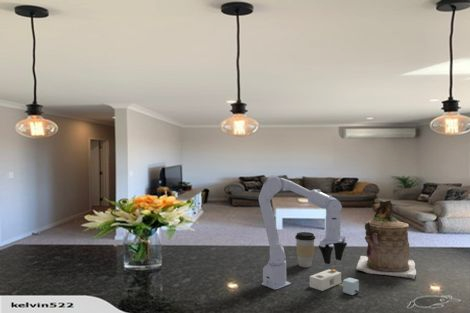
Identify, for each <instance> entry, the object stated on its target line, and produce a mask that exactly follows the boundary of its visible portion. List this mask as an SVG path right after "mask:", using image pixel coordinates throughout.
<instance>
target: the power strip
mask: <svg viewBox="0 0 470 313" xmlns="http://www.w3.org/2000/svg"><path fill="white" fill-rule="evenodd" d="M343 276H344V275H343V274H342V272H340V271H338V270H337V269H334V268H333V269H325V270H323V271H320V272H316V273H314V274H313V275H309V288H312V289H316V290H318V291H322V292H323V291H325V290H328V289H330V288H333V287H335V286H337V285H338V286H339V284H342V277H343Z"/></svg>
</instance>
